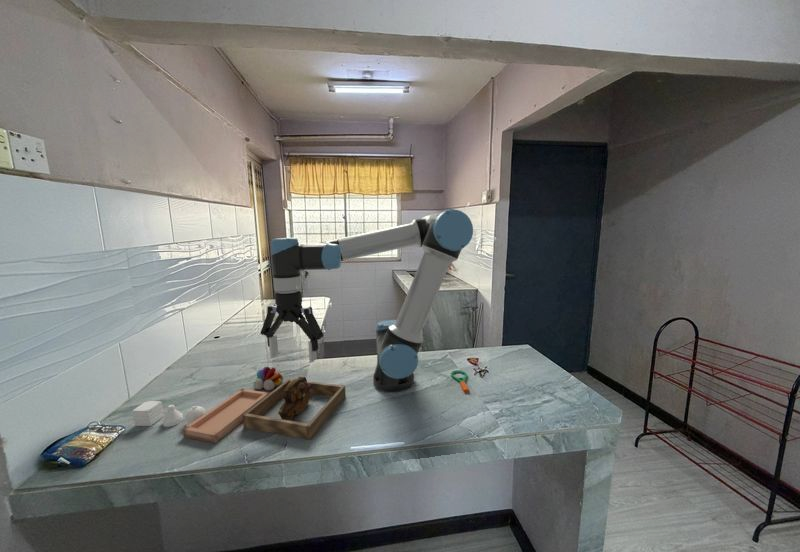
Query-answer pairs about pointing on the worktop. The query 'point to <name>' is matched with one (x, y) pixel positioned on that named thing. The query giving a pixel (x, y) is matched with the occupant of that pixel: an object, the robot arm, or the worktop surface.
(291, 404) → the wooden carving
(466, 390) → the magnifying glass
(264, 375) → the rainbow ball cluster
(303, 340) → the worktop surface
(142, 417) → the container set
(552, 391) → the worktop surface
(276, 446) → the worktop surface
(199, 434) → the tray
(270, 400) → the frame
